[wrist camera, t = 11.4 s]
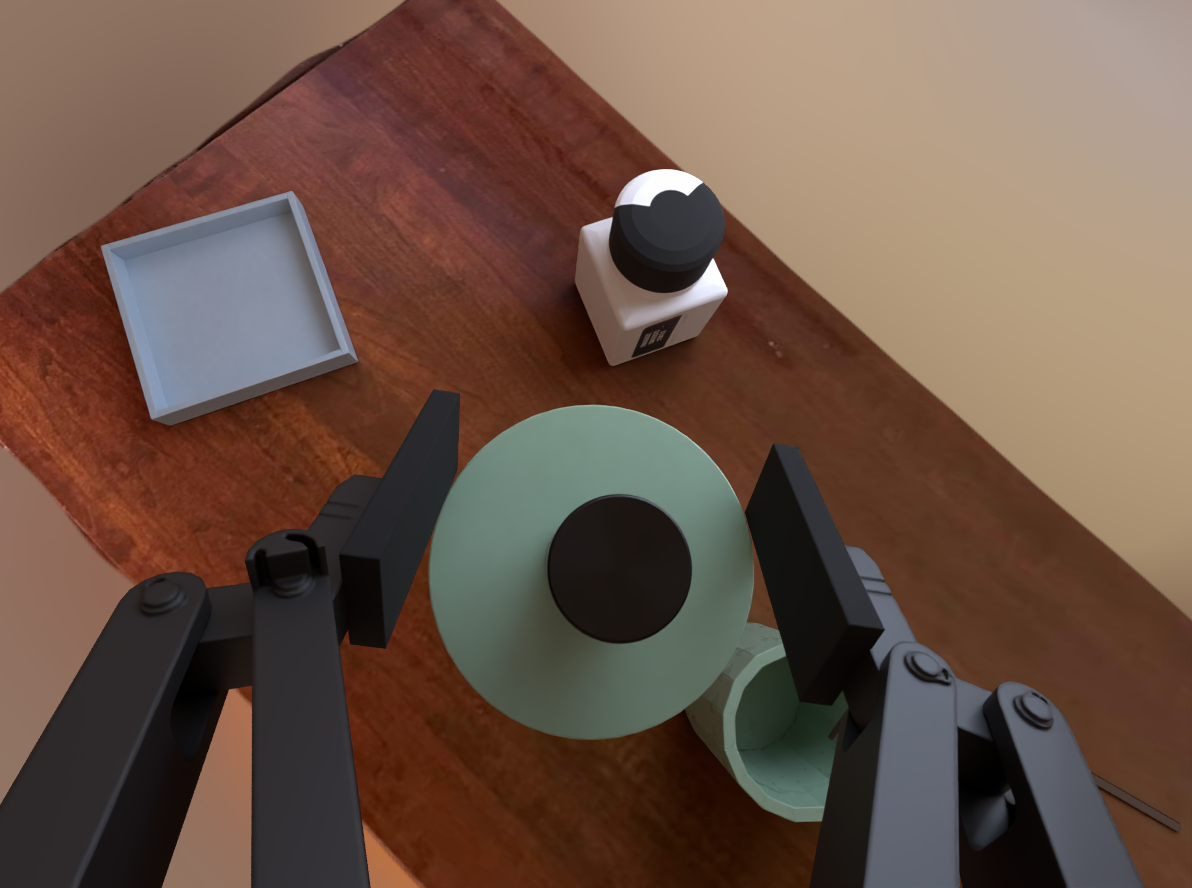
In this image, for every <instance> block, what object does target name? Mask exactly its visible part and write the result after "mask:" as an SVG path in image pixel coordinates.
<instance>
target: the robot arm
mask: <svg viewBox="0 0 1192 888" xmlns="http://www.w3.org/2000/svg"><path fill="white" fill-rule="evenodd" d="M459 410H460V393H453V392H447V391H441V390H435V389H433V391H432V393H431V395H430V396H429V398H428V400H427V402H426V403H425V405H424V407H423V408H422V410H421V412H420V414H419V415H418V417H417V419H416V421H415V422H414V424H413V426H412V428H411V429H410V431H409V433H408V435H407V436H406V438H405V440H404V442H403V443H402V445H401V447H400V448H399V450H398V452H397V454H396V455H395V457H394V459H393V461H392V462H391V464H390V466H389V468H388V469H387V471H386V473H385V475H384V476H383V478H376V477H369V476H362V475H355V474H354V475H353V476H351V477H350V478H348V479H347V480H346V481H344V482H343V483H341V484H340V485H338V486H337V487H336V489H335V490H334V492H333V493H332V495H331V496H330V498H329V499H328V501H327V504H325V505H324V507H323V508H322V510H321V511H320V513H319V516H317V517H316V519H315V520H314V521H313V523H312V524H311V526H310V527H309V529H308V530H302V529H285V530H281V531H278V532H274V533H271V534H269V535H267V536H265V537H263V538H261V539H260V540H258V541H257V542H256V543H255V544H254V545H253V546H252V547H251V548H250V549H249V550H248V552H247V556H246V559H245V563H246V567H247V571H248V575H249V579H250V583H244V584H239V585H230V586H221V587H213V588H206V586H205V584H204V582H203V580H202V579H201V578H200V577H198V576H196V575H194V574H192V573H186V572H171V573H165V574H159V575H157V576H154V577H152V578H149V579H146V580H144V581H142V582H141V583H139V584H138V585H136V586H135V587H133V588H132V589H130V590H129V591H128V592H127V593H126V595H125V596H124V597H123V598H122V599H121V600H120V602H119V603H118V605H117V607H116V608H115V610H114V612H113V614H112V615H111V617H110V619H109V620H108V622H107V624H106V625H105V627H104V629H103V631H102V632H101V634H100V636H99V637H98V639H97V641H96V643H95V644H94V646H93V648H92V649H91V651H90V653H89V655H88V656H87V658H86V660H85V661H84V663H83V665H82V666H81V668H80V670H79V672H78V673H77V675H76V677H75V678H74V680H73V682H72V683H71V685H70V687H69V689H68V691H67V692H66V694H65V695H64V697H63V699H62V701H61V702H60V704H59V706H58V707H57V709H56V711H55V712H54V714H53V716H52V718H51V719H50V721H49V723H48V724H47V726H46V728H45V730H44V731H43V733H42V735H41V736H40V738H39V740H38V742H37V743H36V745H35V747H34V749H33V750H32V752H31V753H30V755H29V757H28V758H27V760H26V762H25V764H24V765H23V767H22V769H21V770H20V772H19V774H18V776H17V777H16V779H15V781H14V782H13V784H12V786H11V787H10V789H9V791H8V793H7V794H6V796H5V798H4V799H3V801H2V803H1V805H0V888H162V885H163V882H164V879H165V876H166V873H167V870H168V867H169V864H170V861H171V858H172V855H173V852H174V849H175V847H176V844H177V841H178V838H179V835H180V832H181V829H182V826H183V823H184V820H185V817H186V814H187V811H188V808H189V805H190V803H191V799H192V797H193V794H194V791H195V788H196V785H197V782H198V779H199V776H200V773H201V770H202V767H203V764H204V761H205V758H206V755H207V752H208V749H209V747H210V744H211V741H212V738H213V734H214V732H215V729H216V726H217V723H218V720H219V717H220V714H221V711H222V708H223V705H224V702H225V699H226V696H227V694H228V690H229V689H234V688H240V687H246V686H252V837H251V841H252V842H251V847H252V848H251V888H371V887H370V881H369V872H368V864H367V857H366V849H365V842H364V833H363V826H362V818H361V810H360V802H359V795H358V787H357V779H356V771H355V764H354V756H353V748H352V740H351V733H350V725H349V717H348V709H347V702H346V694H345V686H344V678H343V671H342V663H341V655H340V648H339V647H340V645H341V643H342V641H343V639H344V636H345V634H346V632H347V630H348V632H349V640H350V644H352V645H360V646H368V647H376V648H384V649H386V646H387V644H388V641H389V639H390V636H391V634H392V631H393V629H394V626H395V624H396V621H397V619H398V616H399V614H400V611H401V609H402V606H403V604H404V601H405V599H406V596H407V594H408V591H409V589H410V586H411V584H412V581H413V579H414V576H415V574H416V571H417V569H418V566H419V564H420V561H421V559H422V556H423V554H424V551H425V549H426V546H427V544H428V541H429V539H430V536H431V534H432V531H433V529H434V526H435V524H436V521H437V519H438V516H439V514H440V511H441V509H442V506H443V504H444V501H445V499H446V496H447V494H448V491H449V489H450V486H451V484H452V481H453V479H454V476H455V474H456V471H457V467H458V439H459ZM745 514H746V518H747V521H748V525H749V528H750V532H751V535H752V539H753V542H754V546H755V549H756V552H757V556H758V559H759V563H760V566H761V570H762V573H763V577H764V580H765V584H766V587H767V591H768V594H769V598H770V601H771V605H772V608H773V611H774V615H775V618H776V622H777V625H778V629H779V632H780V636H781V639H782V643H783V646H784V650H785V653H786V657H787V660H788V664H789V667H790V671H791V674H792V677H793V681H794V684H795V688H796V691H797V695H798V698H799V702H804V703H812V704H820V705H828V706H832V705H833V703H834V702H835V700H836V699H837V698H838V696H839V695H840V693H841V692H842V691H843V693H844V696H845V699H846V702H847V704H848V708H847V710H846V711H845V712H844V714H843V715H842V716H841V718H840V719H839V720H838V722H837V723H836V725H835V726H834V727H833V729H832V730H831V732H830V734H829V736H828V738H829V739H831V740H833V739H834V737H835V736H836V735H837V733H838V738H837V743H836V749H835V754H834V759H833V765H832V770H831V775H830V780H829V786H828V791H827V796H826V802H825V807H824V812H823V818H822V823H821V828H820V834H819V839H818V844H817V850H816V855H815V860H814V866H813V871H812V876H811V882H810V887H809V888H959V873H960V877H961V882H962V886H963V888H1145V887H1144V885H1143V883H1142V881H1141V879H1140V876H1139V874H1138V872H1137V870H1136V868H1135V866H1134V864H1133V861H1132V859H1131V857H1130V855H1129V853H1128V851H1127V849H1126V846H1125V844H1124V842H1123V840H1122V838H1121V836H1120V834H1119V831H1118V829H1117V827H1116V825H1115V823H1114V821H1113V819H1112V816H1111V814H1110V812H1109V810H1108V808H1107V806H1106V804H1105V801H1104V799H1103V797H1102V795H1101V793H1100V791H1099V789H1098V787H1097V784H1096V782H1095V780H1094V778H1093V776H1092V774H1091V772H1090V769H1089V767H1088V765H1087V763H1086V761H1085V759H1084V757H1083V754H1082V752H1081V750H1080V748H1079V746H1078V744H1077V742H1076V739H1075V737H1074V735H1073V733H1072V731H1071V729H1070V727H1069V724H1068V722H1067V721H1066V719H1065V718H1064V716H1063V715H1062V713H1061V712H1060V710H1059V709H1058V708H1057V707H1056V706H1055V705H1054V704H1053V703H1052V702H1051V701H1050V700H1049V699H1047V698H1046V697H1045V696H1043V695H1042V694H1040V693H1039V692H1037V691H1036V690H1035V689H1032V688H1030V687H1028V686H1026V685H1024V684H1021V683H1016V682H1010V681H1009V682H1005V683H1002V684H1000V685H999V686H998V687H997V688H996V689H995V690H994V691H993V692H990V691H988V690H985V689H983V688H980V687H978V686H975V685H973V684H970V683H968V682H965V681H963V680H960V679H958V678H956V677H955V675H954V673H953V672H952V670H951V668H950V667H949V665H948V664H947V663H946V662H945V661H944V660H943V659H942V658H941V657H940V656H939V655H938V654H937V653H935V652H934V651H932V650H930V649H929V648H927V647H925V646H923V645H921V644H918V642H917V641H916V639H915V637H914V635H913V633H912V631H911V629H910V627H909V625H908V623H907V621H906V620H905V618H904V616H903V614H902V612H901V610H900V608H899V606H898V604H897V602H896V600H895V599H894V597H892V596H891V594H892V593H891V591H890V589H889V587H888V585H887V583H884V581H885V580H884V578H883V576H882V574H881V572H880V570H879V568H878V566H877V564H876V563H875V562H874V561H873V560H872V559H871V558H870V557H869V556H868V555H867V554H866V553H865V552H864V551H863V550H862V549H861V548H857V547H851V546H845V545H844V543H843V541H842V538H841V536H840V534H839V532H838V530H837V528H836V526H835V524H834V522H833V520H832V518H831V515H830V513H829V511H828V509H827V507H826V505H825V503H824V501H823V499H822V497H821V495H820V492H819V490H818V488H817V486H816V484H815V482H814V480H813V478H812V476H811V474H810V472H809V470H808V467H807V465H806V463H805V461H804V459H803V457H802V455H801V453H800V451H799V449H798V447H793V446H787V445H781V444H774V443H773V445H772V448H771V450H770V453H769V455H768V457H767V460H766V462H765V465H764V467H763V470H762V472H761V474H760V477H759V479H758V482H757V484H756V487H755V489H754V491H753V494H752V496H751V499H750V501H749V504H748V506H747V508H746V511H745Z"/></svg>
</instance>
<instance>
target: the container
mask: <svg viewBox="0 0 1192 888" xmlns="http://www.w3.org/2000/svg"><path fill="white" fill-rule="evenodd" d="M724 231H725V218H724V213H723V210H722V207H721V205H720V202H719V200H718V199H717V197H716V196H715V194H714V193H713V192H712V191H711V189H710V188H709V187H708V186H706V185H705V184H704V183H703V182H702V181H700V180H699V179H697V178H696V177H694V176H692V175H690V174H687V173H685V172H681V171H677V170H654V171H650V172H646V173H644V174H642V175H639V176H638V177H636V178H634V179H633V180H632V181H631V182H629V183H628V184H627V185H626V186H625V187H624V189H623V190H622V192H621V193H620V195H619V197H618V199H617V201H616V205H615V209H614V214H613V217H612V218H609V219H605V220H602V221H599V222H596V223H593V224H590V225H586V226H584V227H582V229H581V231H580V239H579V248H578V257H577V266H576V275H575V284H576V286H577V289H578V291H579V293H580V296H581V298H582V301H583V303H584V305H585V308H586V310H587V313H588V315H589V317H590V320H591V322H592V325H593V327H594V329H595V332H596V334H597V337H598V339H599V341H600V344H601V346H602V349H603V351H604V353H605V356H606V358H607V361H608V363H609V364H610V365H611V366H615V365H618V364H621V363H623V362H626V361H629V360H632V359H635V358H637V357H640V356H643V355H646V354H649V353H651V352H654V351H657V350H660V349H663V348H665V347H668V346H671V345H674V344H677V343H679V342H682V341H685V340H688V339H691V338H693V337H696V336H698V335H699V333H700V332H701V331H702V329H703V328H704V326H705V325H706V323H707V322H708V321H709V319H710V318H711V316H712V315H713V314H714V312H715V311H716V309H717V308H718V307H719V305H720V304H721V302H722V301H723V299H724V298H725V297H726V295H727V292H728V291H727V288H726V285H725V283H724V281H723V279H722V277H721V274H720V272H719V270H718V268H717V266H716V264H715V261H714V259H713V257H714V255H715V254H716V252H717V250H718V248H719V246H720V244H721V242H722V240H723V236H724Z"/></svg>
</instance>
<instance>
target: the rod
mask: <svg viewBox="0 0 1192 888" xmlns="http://www.w3.org/2000/svg"><path fill="white" fill-rule="evenodd" d="M1091 774H1092V776H1093V778H1094V780H1095V782H1096V784H1097V787H1099V788H1100V789H1102V790H1104V791H1106V792H1107V793H1109V794H1111V795H1113V796H1114V797H1116V798H1118V799H1120V800H1121V801H1123V802H1125V803H1126V804H1128V805H1130V806H1132V807H1133V808H1135V809H1137V810H1139V811H1140V812H1142V813H1144V814H1146V815H1147V816H1149V817H1151V818H1152V819H1154V820H1156V821H1158V822H1159V823H1161V824H1163V825H1165V826H1166V827H1168V828H1170V829H1172V830H1173V831H1176V832H1178V831H1180V830H1181V825H1180V823H1179V822H1177V821H1175V820H1173V819H1172V818H1170V817H1168V816H1167V815H1165V814H1163V813H1161V812H1160V811H1158V810H1156V809H1154V808H1153V807H1151V806H1149V805H1147V804H1146V803H1144V802H1142V801H1141V800H1139V799H1137V798H1135V797H1134V796H1132V795H1130V794H1128V793H1127V792H1125V791H1123V790H1121V789H1120V788H1118V787H1116V786H1115V785H1113V784H1111V783H1109V782H1108V781H1106V780H1104V779H1102V778H1101V777H1099V776H1097V775H1095V774H1094V773H1092V772H1091Z"/></svg>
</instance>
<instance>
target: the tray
mask: <svg viewBox="0 0 1192 888" xmlns="http://www.w3.org/2000/svg"><path fill="white" fill-rule="evenodd" d="M101 249H102V253H103V256H104V260H105V263H106V266H107V270H108V273H109V277H110V280H111V284H112V287H113V290H114V294H115V297H116V301H117V304H118V308H119V311H120V314H121V318H122V321H123V325H124V328H125V331H126V335H127V338H128V342H129V345H130V349H131V352H132V355H133V359H134V362H135V366H136V369H137V373H138V376H139V379H140V383H141V386H142V390H143V393H144V397H145V400H146V403H147V407H148V410H149V414H150V417H151V419H152V420H154V421H157V422H160V423H163V424H166V425H169V426H171V425H174V424H177V423H180V422H183V421H186V420H189V419H192V418H195V417H198V416H201V415H204V414H207V413H210V412H213V411H215V410H218V409H221V408H224V407H227V406H230V405H233V404H236V403H239V402H242V401H245V400H248V399H251V398H254V397H257V396H260V395H263V394H265V393H268V392H271V391H274V390H277V389H280V388H283V387H286V386H289V385H292V384H295V383H298V382H301V381H304V380H307V379H310V378H313V377H315V376H318V375H321V374H324V373H327V372H330V371H333V370H336V369H339V368H342V367H345V366H348V365H351V364H354V363H357V362H358V359H357V357H356V354H355V351H354V348H353V345H352V342H351V340H350V337H349V334H348V331H347V328H346V326H345V323H344V320H343V317H342V314H341V311H340V309H339V306H338V303H337V300H336V297H335V295H334V292H333V289H332V286H331V283H330V280H329V278H328V275H327V272H326V269H325V266H324V264H323V261H322V258H321V255H320V252H319V250H318V247H317V244H316V241H315V238H314V235H313V233H312V230H311V227H310V224H309V221H308V219H307V216H306V213H305V210H304V207H303V206H302V204H301V203H300V201H299V200H298V199H297V197H296V196H295V194H294V193H293V192H292V191H290V192H287V193H283V194H280V195H276V196H273V197H269V198H266V199H262V200H259V201H255V202H252V203H248V204H245V205H242V206H238V207H235V208H231V209H228V210H224V211H221V212H217V213H214V214H210V215H207V216H203V217H200V218H196V219H193V220H189V221H186V222H182V223H179V224H176V225H172V226H169V227H165V228H162V229H158V230H155V231H151V232H148V233H144V234H141V235H137V236H134V237H130V238H127V239H123V240H120V241H117V242H113V243H110V244H106V245H103V246H101Z"/></svg>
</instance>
